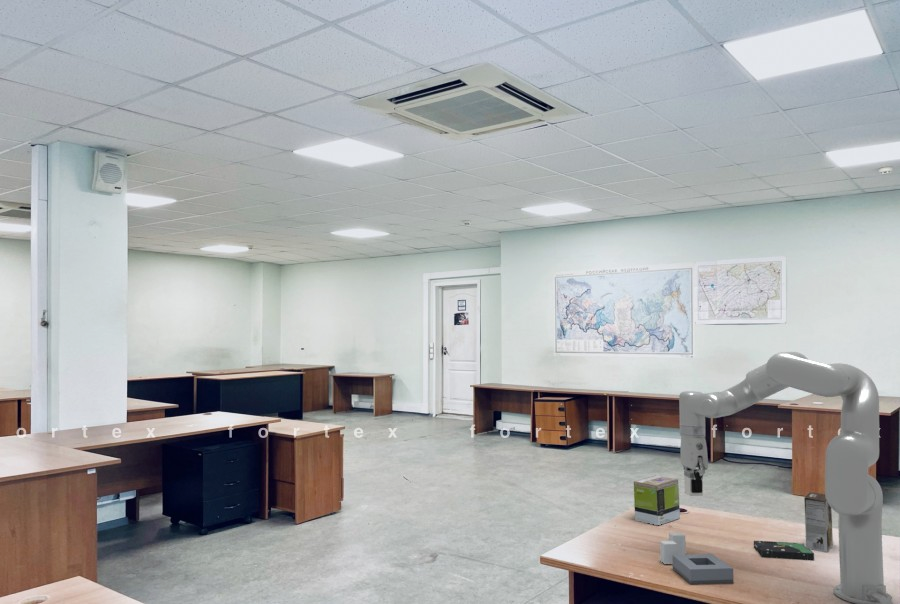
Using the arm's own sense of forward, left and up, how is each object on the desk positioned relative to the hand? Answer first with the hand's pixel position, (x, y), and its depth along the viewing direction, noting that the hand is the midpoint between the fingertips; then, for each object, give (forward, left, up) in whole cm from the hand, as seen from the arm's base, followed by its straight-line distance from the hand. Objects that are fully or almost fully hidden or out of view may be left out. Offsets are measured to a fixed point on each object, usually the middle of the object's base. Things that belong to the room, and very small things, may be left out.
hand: (693, 490), depth 202 cm
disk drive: (-1, -28, -20) cm, 34 cm away
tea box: (+39, -4, -20) cm, 44 cm away
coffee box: (+4, -43, -20) cm, 47 cm away
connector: (0, 0, -1) cm, 1 cm away
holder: (-18, +6, -20) cm, 27 cm away
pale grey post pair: (-3, +8, -20) cm, 21 cm away
